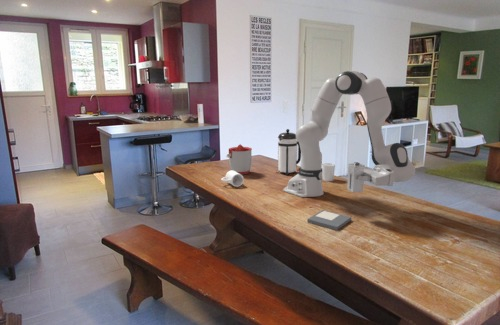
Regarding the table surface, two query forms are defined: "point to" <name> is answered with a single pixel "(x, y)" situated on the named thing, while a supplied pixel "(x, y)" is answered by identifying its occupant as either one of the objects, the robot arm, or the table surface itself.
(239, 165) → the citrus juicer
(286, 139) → the coffee press
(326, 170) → the white cup
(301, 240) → the table surface
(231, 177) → the mug
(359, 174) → the aluminium block
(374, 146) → the robot arm
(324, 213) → the dock board
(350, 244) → the table surface
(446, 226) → the table surface
